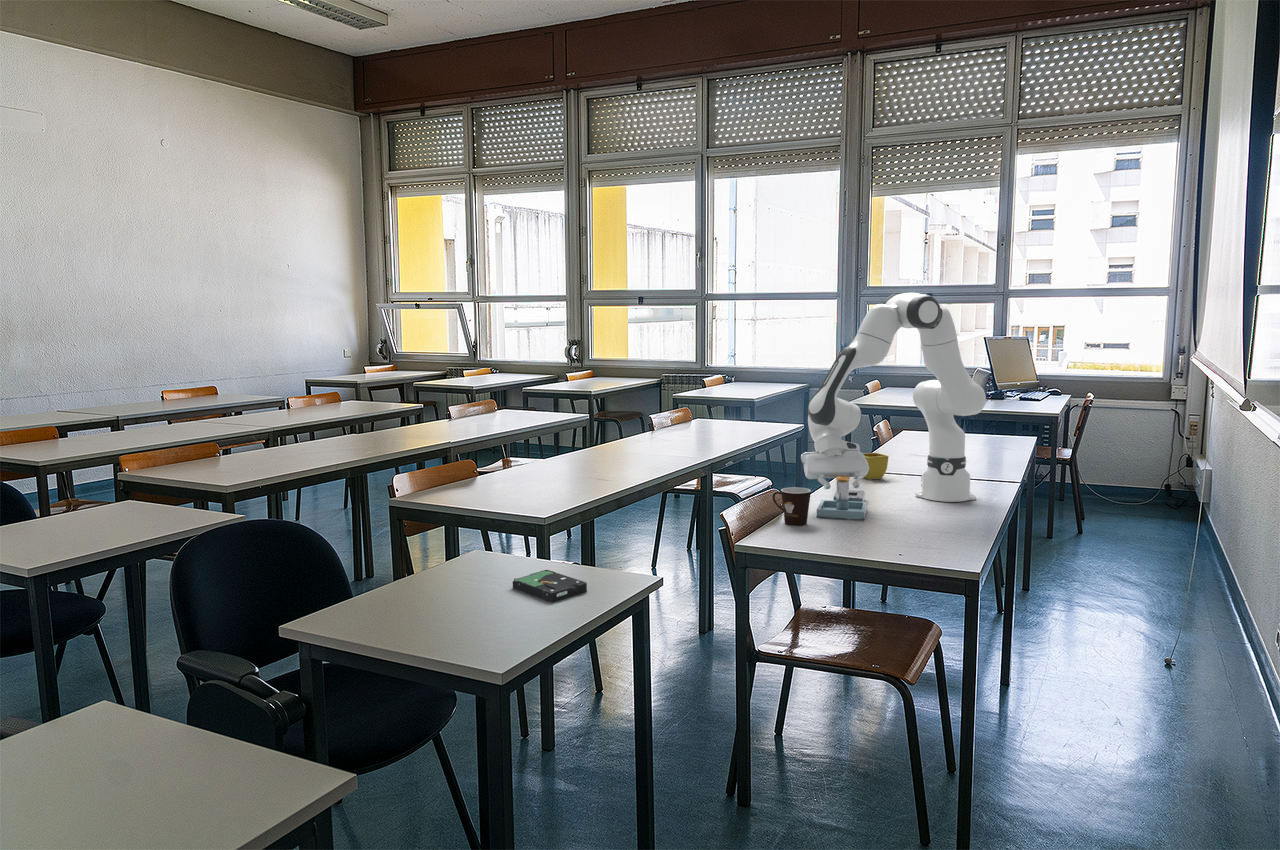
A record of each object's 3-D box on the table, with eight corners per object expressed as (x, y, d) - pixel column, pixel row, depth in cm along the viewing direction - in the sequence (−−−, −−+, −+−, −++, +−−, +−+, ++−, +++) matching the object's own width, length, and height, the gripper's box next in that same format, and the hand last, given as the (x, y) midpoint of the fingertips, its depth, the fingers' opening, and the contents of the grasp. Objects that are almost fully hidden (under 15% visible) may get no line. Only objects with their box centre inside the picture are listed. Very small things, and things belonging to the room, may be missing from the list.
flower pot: (855, 477, 320) (855, 453, 319) (875, 475, 323) (875, 452, 321) (868, 481, 312) (868, 457, 311) (888, 479, 314) (889, 455, 313)
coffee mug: (816, 525, 248) (816, 491, 246) (790, 528, 244) (791, 494, 243) (794, 516, 258) (795, 484, 257) (770, 519, 255) (770, 487, 254)
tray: (821, 507, 270) (821, 499, 270) (866, 509, 266) (866, 502, 266) (816, 517, 257) (816, 509, 257) (864, 520, 253) (864, 512, 252)
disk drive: (588, 594, 191) (546, 579, 201) (588, 582, 190) (546, 568, 201) (552, 605, 184) (511, 589, 194) (551, 593, 183) (511, 578, 194)
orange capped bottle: (836, 509, 264) (836, 475, 263) (849, 510, 263) (849, 475, 261) (835, 512, 260) (835, 477, 259) (848, 513, 259) (849, 478, 258)
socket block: (836, 498, 283) (836, 489, 283) (864, 499, 280) (864, 490, 280) (833, 506, 272) (833, 496, 272) (862, 507, 269) (862, 498, 269)
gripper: (801, 446, 265) (812, 483, 257) (863, 444, 268) (876, 480, 260) (796, 458, 270) (807, 494, 261) (857, 455, 273) (870, 491, 265)
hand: (842, 487), depth 261 cm, fingers open, 8 cm apart
